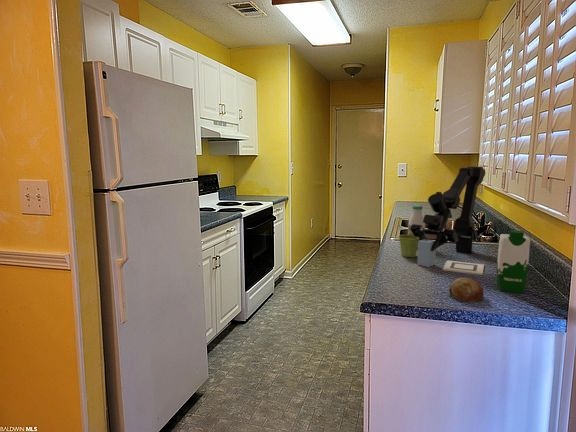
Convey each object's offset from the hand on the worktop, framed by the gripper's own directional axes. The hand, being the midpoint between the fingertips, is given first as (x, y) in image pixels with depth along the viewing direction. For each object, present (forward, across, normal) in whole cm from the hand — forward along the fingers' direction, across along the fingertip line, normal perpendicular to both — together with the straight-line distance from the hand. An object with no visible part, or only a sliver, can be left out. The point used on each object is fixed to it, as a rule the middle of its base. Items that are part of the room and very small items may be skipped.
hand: (425, 249), depth 166 cm
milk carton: (+8, +34, +1) cm, 35 cm away
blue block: (+4, 0, +6) cm, 7 cm away
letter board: (-1, +12, +10) cm, 16 cm away
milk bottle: (-15, -20, +25) cm, 35 cm away
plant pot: (-2, -13, +12) cm, 17 cm away
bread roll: (+22, +28, -12) cm, 37 cm away
